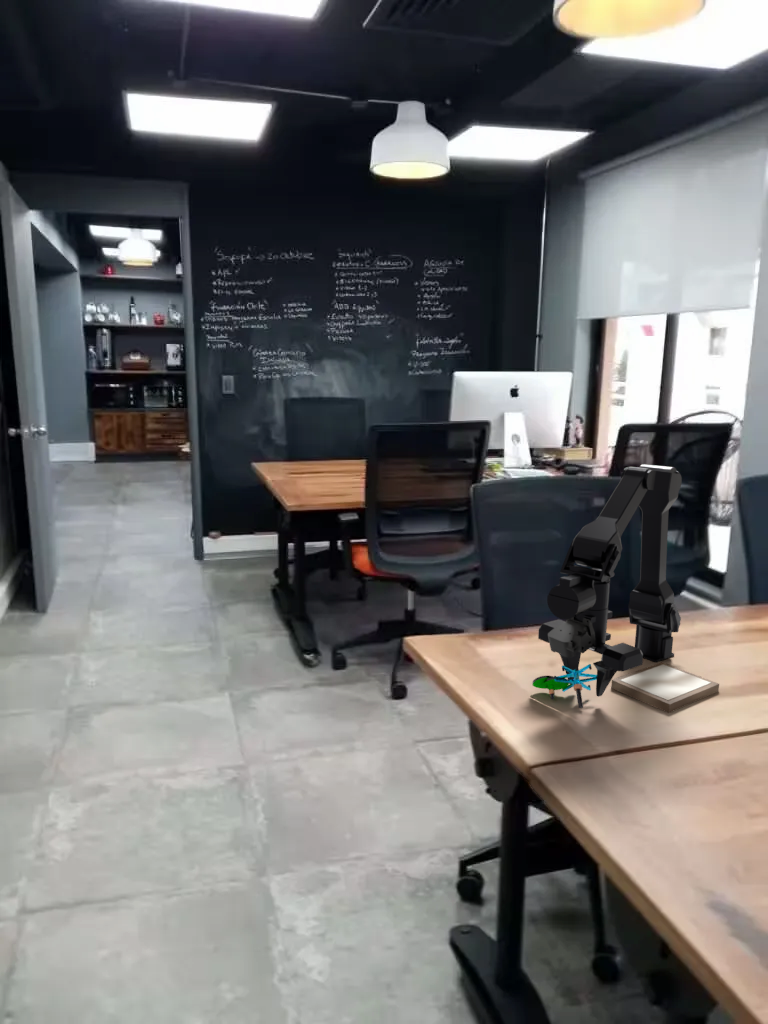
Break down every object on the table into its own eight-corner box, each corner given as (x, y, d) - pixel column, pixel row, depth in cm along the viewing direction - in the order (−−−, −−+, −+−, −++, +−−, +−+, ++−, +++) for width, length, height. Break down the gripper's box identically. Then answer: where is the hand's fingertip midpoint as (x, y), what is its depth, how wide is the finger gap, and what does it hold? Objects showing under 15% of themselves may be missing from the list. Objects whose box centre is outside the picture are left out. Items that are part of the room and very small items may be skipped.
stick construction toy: (603, 674, 135) (592, 656, 130) (610, 712, 131) (598, 694, 125) (538, 686, 140) (525, 669, 134) (542, 723, 135) (529, 706, 130)
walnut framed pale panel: (611, 688, 139) (611, 679, 138) (660, 669, 147) (661, 661, 147) (668, 713, 129) (669, 703, 129) (718, 692, 138) (719, 683, 137)
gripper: (518, 599, 134) (514, 681, 137) (604, 630, 119) (598, 722, 122) (561, 589, 140) (556, 668, 143) (648, 617, 125) (640, 704, 128)
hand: (585, 689), depth 134 cm, fingers closed on stick construction toy, 6 cm apart
